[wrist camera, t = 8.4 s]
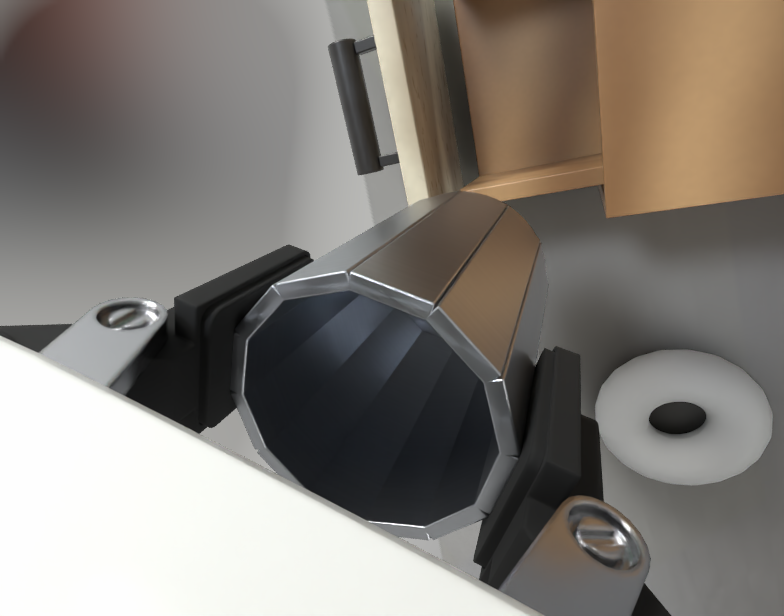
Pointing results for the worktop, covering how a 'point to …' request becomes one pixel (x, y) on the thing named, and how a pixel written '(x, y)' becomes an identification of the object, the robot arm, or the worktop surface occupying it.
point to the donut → (694, 385)
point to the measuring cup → (400, 365)
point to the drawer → (480, 96)
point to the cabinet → (689, 102)
